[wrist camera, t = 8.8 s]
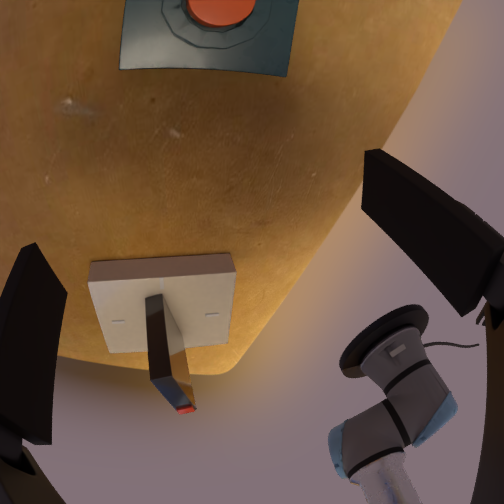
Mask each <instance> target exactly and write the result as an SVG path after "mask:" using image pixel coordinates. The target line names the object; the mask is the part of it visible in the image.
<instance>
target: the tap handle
mask: <svg viewBox="0 0 504 504" xmlns="http://www.w3.org/2000/svg"><path fill="white" fill-rule="evenodd" d="M145 314H146V333H147V348H148V361H149V371H150V380H151V382H152V383H153V384H154V385H155V387H156V388H157V389H158V390H159V391H160V392H161V393H162V395H163V396H164V397H165V398H166V399H167V401H168V402H169V403H170V404H171V405H172V406H173V407H174V408H175V410H176V411H177V412H178V413H179V414H185V413H189V412H194V411H195V410H196V409H197V408H196V404H195V399H194V394H193V389H192V384H191V379H190V374H189V368H188V363H187V357H186V352H185V346H184V340H183V336H182V334H181V332H180V330H179V328H178V326H177V324H176V322H175V319H174V317H173V315H172V313H171V311H170V309H169V307H168V305H167V303H166V300H165V298H164V296H163V294H159V295H155V296H151V297H148V298H145Z"/></svg>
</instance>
